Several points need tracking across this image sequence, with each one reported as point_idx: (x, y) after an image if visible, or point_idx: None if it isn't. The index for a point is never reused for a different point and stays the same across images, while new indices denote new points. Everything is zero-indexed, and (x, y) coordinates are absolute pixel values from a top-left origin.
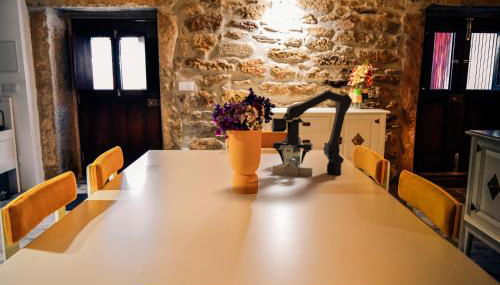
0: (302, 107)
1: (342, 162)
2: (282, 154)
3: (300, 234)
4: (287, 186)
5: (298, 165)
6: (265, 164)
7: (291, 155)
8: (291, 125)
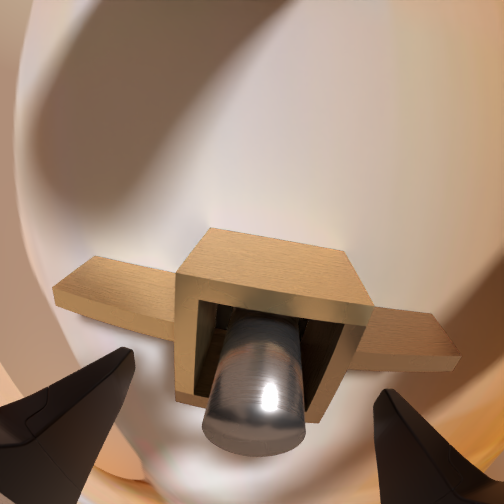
0: None
1: None
2: (82, 466)
3: None
4: (241, 468)
5: (339, 379)
6: (39, 2)
7: None
8: None
